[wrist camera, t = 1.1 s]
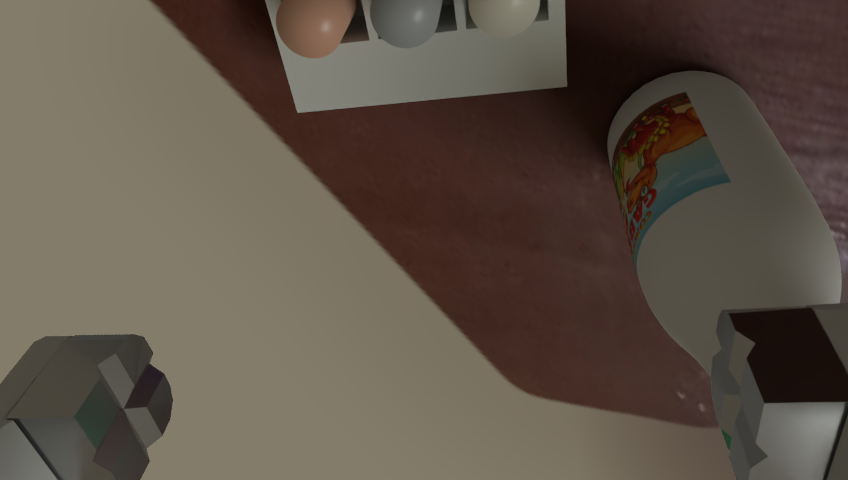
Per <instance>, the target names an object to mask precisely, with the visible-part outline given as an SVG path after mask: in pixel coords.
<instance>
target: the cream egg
mask: <svg viewBox="0 0 848 480" xmlns="http://www.w3.org/2000/svg"><path fill="white" fill-rule="evenodd" d="M539 6H540V0H468V7H469V12H470V15H471V18H472V20H473V21H474V23H475V24H476V26H477V27H478V28H479V29H480V30H482V31H483V32H485V33H486V34H488V35H491V36H494V37H501V38H504V37H512V36H515V35H517V34H519V33H521V32H523V31H524V30H526V29H527V28H528V27H529V26H530V25H531V24H532V22H533V21H534V20H535V18H536V16H537V14H538V11H539Z"/></svg>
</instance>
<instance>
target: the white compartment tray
mask: <svg viewBox="0 0 848 480" xmlns="http://www.w3.org/2000/svg"><path fill="white" fill-rule="evenodd" d="M282 1H283V0H265V2H266V5H267V9H268V12H269V16H270V19H271V23H272V26H273V30H274V33H275V36H276V40H277V43H278V47H279V50H280V54H281V57H282V61H283V64H284V68H285V71H286V75H287V78H288V81H289V85H290V88H291V92H292V95H293V99H294V102H295V106H296V109H297V113H301V112H311V111H321V110H332V109H342V108H352V107H362V106H373V105H383V104H393V103H404V102H414V101H424V100H435V99H445V98H455V97H465V96H476V95H486V94H496V93H507V92H517V91H527V90H537V89H548V88H558V87H567V62H566V23H565V0H540V6H539V11H538V14H537V16H536V18H535V20H534V21H533V22H532V24H531V25H530V26H529V27H528V28H527V29H526V30H524V31H523V32H521V33H519V34H517V35H515V36H512V37H504V38H501V37H494V36H491V35H488V34H486V33H485V32H483V31H482V30H480V29H479V28H478V27H477V26H476V24H475V23H474V21H473V20H472V18H471V15H470V12H469V7H468V0H443V2H442V7H441V12H440V16H439V21H438V25H437V28H436V30H435V32H434V34H433V35H432V36H431V38H430V39H429V40H427V41H426V42H425V43H423V44H422V45H419V46H417V47H413V48H399V47H395V46H392V45H390V44H388V43H387V42H385V41H384V40H383V39H382V38H381V37H380V36H379V35H378V34H377V33H376V31H375V29H374V28H373V25H372V23H371V19H370V5H371V2H372V0H360V3H359V5H358V8H357V10H356V12H355V14H354V16H353V18H352V20H351V22H350V24H349V26H348V28H347V30H346V32H345V34H344V36H343V38H342V40H341V42H340V44H339V45H338V47H337V48H336V49H335V50H334V51H333V52H332V53H331V54H329V55H327V56H325V57H322V58H306V57H303V56H300V55H298V54H296V53H294V52H293V51H291V50H290V49H289V48H288V47H287V46H286V45H285V44H284V43H283V41H282V40H281V38H280V36H279V34H278V31H277V27H276V14H277V10H278V8H279V6H280V4H281V3H282Z"/></svg>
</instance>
